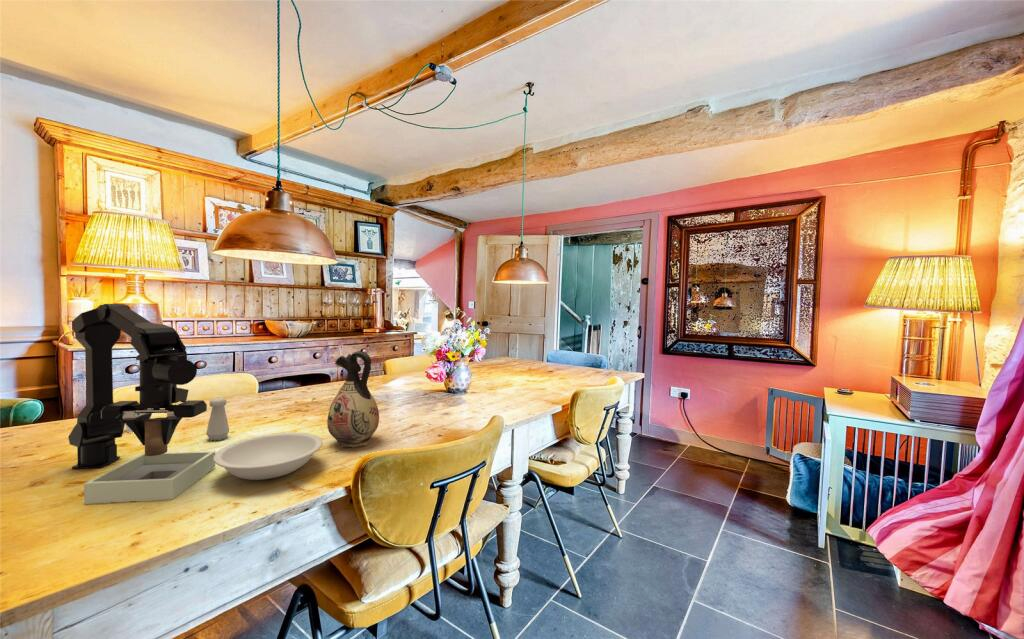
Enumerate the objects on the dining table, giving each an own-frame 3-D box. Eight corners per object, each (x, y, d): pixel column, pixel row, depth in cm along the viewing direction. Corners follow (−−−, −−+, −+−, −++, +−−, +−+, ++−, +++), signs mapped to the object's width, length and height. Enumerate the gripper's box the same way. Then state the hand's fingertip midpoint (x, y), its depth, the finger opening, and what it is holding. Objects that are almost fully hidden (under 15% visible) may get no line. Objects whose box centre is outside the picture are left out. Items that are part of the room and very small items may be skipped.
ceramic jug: (314, 447, 118) (316, 350, 117) (351, 432, 133) (352, 346, 131) (360, 456, 113) (362, 355, 111) (392, 439, 127) (394, 349, 126)
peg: (140, 456, 90) (140, 422, 89) (152, 449, 94) (152, 417, 93) (159, 455, 91) (159, 422, 90) (171, 449, 94) (171, 417, 94)
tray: (84, 504, 83) (84, 483, 83) (142, 470, 99) (142, 453, 99) (172, 499, 86) (172, 479, 86) (215, 467, 102) (215, 451, 102)
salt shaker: (219, 442, 119) (219, 401, 119) (201, 441, 120) (201, 400, 119) (233, 436, 125) (233, 396, 125) (216, 435, 125) (216, 395, 125)
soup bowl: (231, 459, 108) (231, 436, 107) (326, 450, 116) (326, 429, 116) (196, 502, 85) (196, 472, 85) (316, 487, 94) (316, 460, 93)
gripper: (219, 373, 101) (219, 432, 102) (136, 373, 98) (136, 434, 98) (192, 382, 90) (192, 448, 91) (98, 382, 87) (99, 450, 87)
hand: (156, 444), depth 92 cm, fingers closed on peg, 4 cm apart
